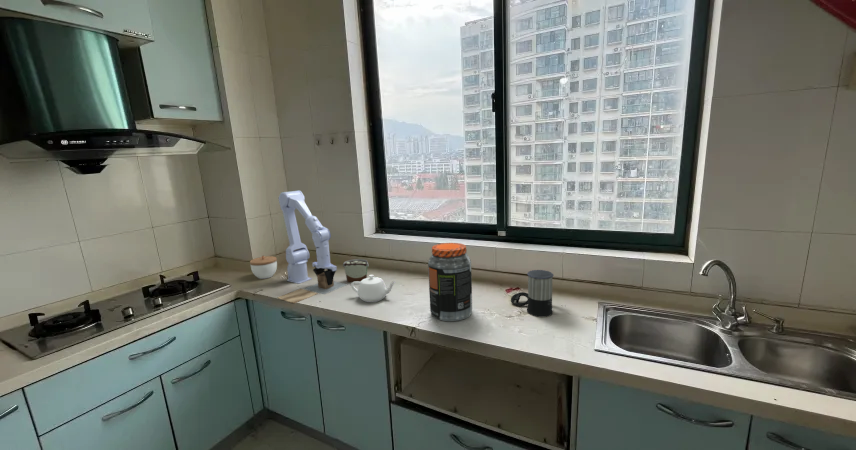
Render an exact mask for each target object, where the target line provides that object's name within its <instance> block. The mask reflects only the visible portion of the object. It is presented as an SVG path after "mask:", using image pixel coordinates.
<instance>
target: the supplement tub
mask: <svg viewBox="0 0 856 450" xmlns="http://www.w3.org/2000/svg"><path fill="white" fill-rule="evenodd" d="M427 261H428V262H427V269H428V288H429V289H428V290H429V291H428V292H429V310H430V314H431V315H432V317H433V318H435V319H437V320H439V321H445V322H459V321H462V320H465V319H467V318H468V317H470V315H472V313H473V287H472V286H473V285H472V284H473V283H472V282H473V281H472V280H473V279H472V278H473V277H472V261H471V257H470V256H469V255H468V252H467V245H465V244H463V243H461V242H460V243H459V242H443V243H442V242H441V243H438V244H434V245H432V247H431V256H430V257H429V259H428V260H427Z"/></svg>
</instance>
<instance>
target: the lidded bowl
mask: <svg viewBox="0 0 856 450" xmlns="http://www.w3.org/2000/svg"><path fill="white" fill-rule="evenodd" d="M277 261H278V259H277V257H276V256H271V255H270V256H267V255H266V256H265V255H261V256H260V257H256V258H252V259H251V260H249V264H250V269H251V272H252V274H253V275H254V276H255V277H256V278H257V279H259V280H260V279H261V280H262V279H263V280H264V279H269V278H272V277H273V276H274V275H275V273H276V271H277V268H278V262H277Z"/></svg>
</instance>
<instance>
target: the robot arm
mask: <svg viewBox="0 0 856 450" xmlns="http://www.w3.org/2000/svg"><path fill="white" fill-rule="evenodd" d="M305 198H306V197H305V195H304V194H303V192H302V191H301V190H293V191H292V190H291V191H283V192H282V191H281V192H280V193H279V196H278V202H279V203H278V204H279V206H280V210H281V211H282V215H283V221H284V224H285V229H286V233H287V238H288V243H289V244H288V245H289V246H287V248H286V249H285V260H286V263H288V264H287V267H286V269H287V278H288V279H287V280H286V281H287V282H290V283H294V284H302V283H305V282H308V281H310V280H311V281H312V279H313V278H312V277H309V276H308V265H307V263H308V262H309V261H308V260H309V259H310V252H309V250H308V247H307V245H306V244H305V243H303V242H302V240H301V236H300V231H299V227H298V222H297V217H296V212H295V211H296V210H298V212H299V213H300V214H301V215H302V218H303V219H304V220H305V222H304V224H305V225H306V227H307V228H308V230H309V232H311V238H312V242H313V244H314V247H315V251H316V261H314V262H311V263H312V264H311V265H312V268H313V269H312V271H313V272H314V273H315V276H317V275H318V274H321V273H325V275H326V279H327V284H328V285H331V284H332V282H333V280H334V277H335V274H336V272H337V270H338V268H337V267H338V266H337V265H334V264H333V263H331V253H330V242H329V241H330V239H331V238H332V236H331V232H330V229H329V228H327V227H326V226H323V225H322V223H321V221H320V220H319V219H318V217H317V216H315V215H313V214H312V213H311V211H310V208H309V206H308V205H307V204H306V202H305V200H306V199H305Z"/></svg>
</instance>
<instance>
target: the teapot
mask: <svg viewBox="0 0 856 450" xmlns="http://www.w3.org/2000/svg"><path fill="white" fill-rule="evenodd" d="M395 283H396V281H394V280H393V281H391V283H390V284H389V286H388V288H387V285H386V283H385V280H383V278H381V277H377V276H375V275H374V274H369V275H368V277H367V278H365V279H363V280H362V281H360V282H357V281H356V282H350V288H351V289H352V290H353V291H354V292H355V293H357V296H358V298H359V299H361V300H362V301H364V302H365V303H376V302H380V301H382V300H383V299H384V298H385V297H386V296H387V295H388V294H389V293H390V292H392V289H393V286H394V284H395ZM355 284H356V285H358V288H357V287H355Z"/></svg>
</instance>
